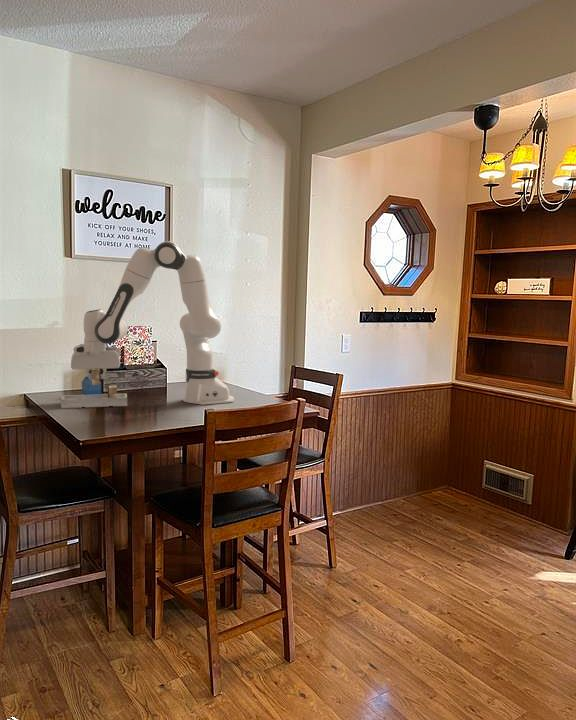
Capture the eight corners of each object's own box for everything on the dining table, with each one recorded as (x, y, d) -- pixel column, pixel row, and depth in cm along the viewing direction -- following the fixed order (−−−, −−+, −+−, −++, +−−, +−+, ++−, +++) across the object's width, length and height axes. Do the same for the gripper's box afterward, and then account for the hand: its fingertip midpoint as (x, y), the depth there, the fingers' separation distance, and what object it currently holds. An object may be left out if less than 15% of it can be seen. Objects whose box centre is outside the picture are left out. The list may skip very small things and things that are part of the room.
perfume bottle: (101, 396, 259) (100, 370, 257) (87, 397, 255) (87, 371, 253) (95, 394, 264) (94, 368, 262) (82, 395, 259) (81, 369, 258)
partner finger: (108, 401, 241) (107, 387, 240) (108, 399, 245) (107, 385, 245) (116, 401, 242) (116, 387, 241) (116, 399, 246) (116, 385, 246)
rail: (126, 401, 250) (126, 393, 250) (127, 405, 241) (127, 397, 240) (63, 403, 243) (62, 395, 242) (61, 408, 233) (60, 399, 233)
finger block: (101, 382, 253) (100, 369, 252) (100, 384, 248) (100, 370, 247) (92, 382, 252) (92, 369, 251) (92, 384, 247) (91, 371, 246)
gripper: (120, 345, 253) (121, 376, 255) (70, 346, 248) (72, 378, 250) (120, 347, 247) (121, 379, 249) (69, 348, 242) (71, 381, 244)
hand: (96, 378), depth 249 cm, fingers closed on finger block, 3 cm apart
